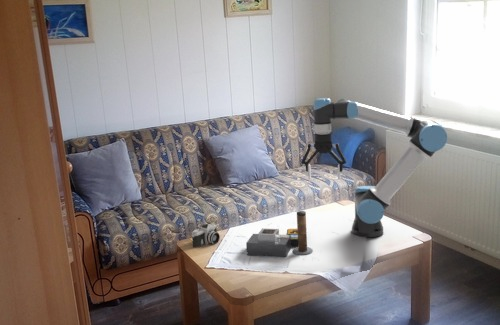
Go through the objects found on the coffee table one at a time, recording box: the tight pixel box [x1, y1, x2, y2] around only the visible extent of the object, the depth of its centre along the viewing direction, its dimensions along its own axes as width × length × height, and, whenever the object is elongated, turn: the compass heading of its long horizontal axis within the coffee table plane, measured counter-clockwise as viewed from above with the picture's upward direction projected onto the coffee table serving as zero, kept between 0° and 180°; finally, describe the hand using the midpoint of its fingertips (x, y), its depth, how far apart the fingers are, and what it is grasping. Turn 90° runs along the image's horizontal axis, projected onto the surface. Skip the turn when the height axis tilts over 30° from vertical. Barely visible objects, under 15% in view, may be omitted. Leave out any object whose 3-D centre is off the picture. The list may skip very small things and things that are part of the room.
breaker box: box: [245, 228, 292, 258], centre depth 241 cm, size 18×12×10 cm, turn 74°
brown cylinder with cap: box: [296, 210, 308, 252], centre depth 237 cm, size 4×4×18 cm
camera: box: [191, 222, 221, 249], centre depth 255 cm, size 16×9×10 cm, turn 141°
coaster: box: [292, 246, 314, 256], centre depth 239 cm, size 9×9×1 cm
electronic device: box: [286, 228, 298, 247], centre depth 253 cm, size 8×16×3 cm, turn 175°
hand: (324, 178), depth 243 cm, fingers open, 13 cm apart
